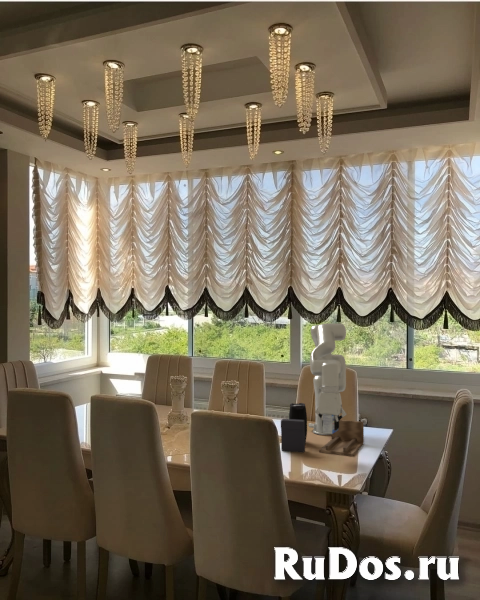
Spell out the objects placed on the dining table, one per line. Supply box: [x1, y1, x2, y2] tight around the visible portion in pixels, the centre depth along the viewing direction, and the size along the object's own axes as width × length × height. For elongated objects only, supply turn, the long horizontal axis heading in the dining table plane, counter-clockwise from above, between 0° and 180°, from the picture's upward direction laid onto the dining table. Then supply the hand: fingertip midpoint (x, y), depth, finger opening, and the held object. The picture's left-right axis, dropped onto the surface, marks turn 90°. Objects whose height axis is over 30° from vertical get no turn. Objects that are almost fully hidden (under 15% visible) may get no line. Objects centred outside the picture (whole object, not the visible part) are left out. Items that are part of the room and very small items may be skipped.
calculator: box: [280, 418, 306, 454], centre depth 255 cm, size 11×4×15 cm, turn 71°
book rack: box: [318, 419, 365, 457], centre depth 259 cm, size 16×22×11 cm
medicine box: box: [323, 414, 338, 435], centre depth 243 cm, size 8×4×9 cm, turn 148°
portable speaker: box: [288, 402, 308, 444], centre depth 270 cm, size 9×9×20 cm
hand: (330, 428), depth 243 cm, fingers closed on medicine box, 4 cm apart
